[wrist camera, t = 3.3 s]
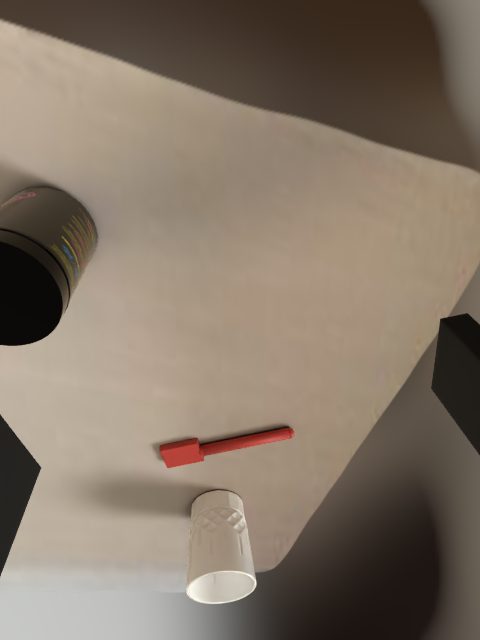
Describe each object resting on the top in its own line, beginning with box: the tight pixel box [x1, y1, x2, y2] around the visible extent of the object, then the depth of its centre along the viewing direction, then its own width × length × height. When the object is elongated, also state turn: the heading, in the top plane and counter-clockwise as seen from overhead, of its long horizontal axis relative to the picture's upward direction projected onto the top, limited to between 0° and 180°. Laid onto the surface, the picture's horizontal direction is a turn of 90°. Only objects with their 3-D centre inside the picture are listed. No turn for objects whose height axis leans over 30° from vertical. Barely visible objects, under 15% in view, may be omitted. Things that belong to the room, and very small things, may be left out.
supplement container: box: [0, 187, 97, 346], centre depth 26 cm, size 7×7×10 cm
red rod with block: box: [160, 428, 294, 468], centre depth 45 cm, size 15×3×1 cm, turn 101°
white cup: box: [186, 490, 256, 604], centre depth 48 cm, size 8×8×10 cm
